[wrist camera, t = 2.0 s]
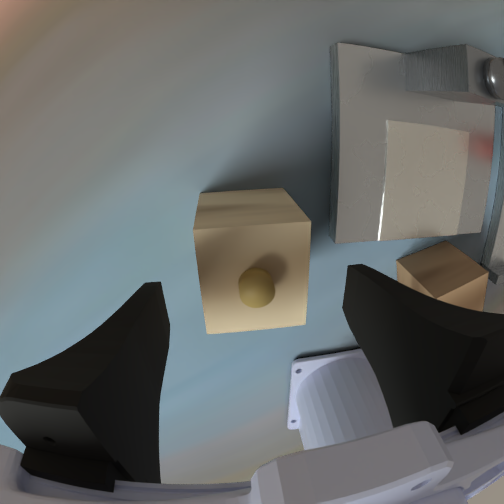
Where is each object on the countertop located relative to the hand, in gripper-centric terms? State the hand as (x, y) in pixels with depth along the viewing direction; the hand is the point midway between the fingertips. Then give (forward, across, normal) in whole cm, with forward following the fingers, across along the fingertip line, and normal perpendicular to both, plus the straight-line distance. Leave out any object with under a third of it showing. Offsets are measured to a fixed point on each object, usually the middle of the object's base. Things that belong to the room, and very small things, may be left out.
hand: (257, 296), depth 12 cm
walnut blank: (+7, -13, +5) cm, 15 cm away
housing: (+7, 0, 0) cm, 7 cm away
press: (+7, -11, -5) cm, 14 cm away
